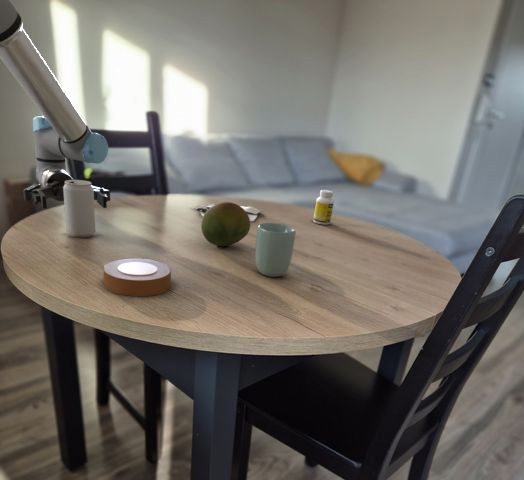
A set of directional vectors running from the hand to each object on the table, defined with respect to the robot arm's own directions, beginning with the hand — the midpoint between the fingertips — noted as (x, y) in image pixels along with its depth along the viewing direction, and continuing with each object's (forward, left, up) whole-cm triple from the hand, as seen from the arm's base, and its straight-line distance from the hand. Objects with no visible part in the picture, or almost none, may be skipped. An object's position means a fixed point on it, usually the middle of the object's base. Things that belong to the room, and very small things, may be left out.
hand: (75, 202), depth 114 cm
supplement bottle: (+60, +42, -7) cm, 74 cm away
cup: (+48, -14, -7) cm, 51 cm away
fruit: (+35, +3, -7) cm, 36 cm away
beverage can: (+2, -4, -7) cm, 8 cm away
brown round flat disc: (+24, -30, -7) cm, 39 cm away
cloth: (+30, +38, -7) cm, 50 cm away
